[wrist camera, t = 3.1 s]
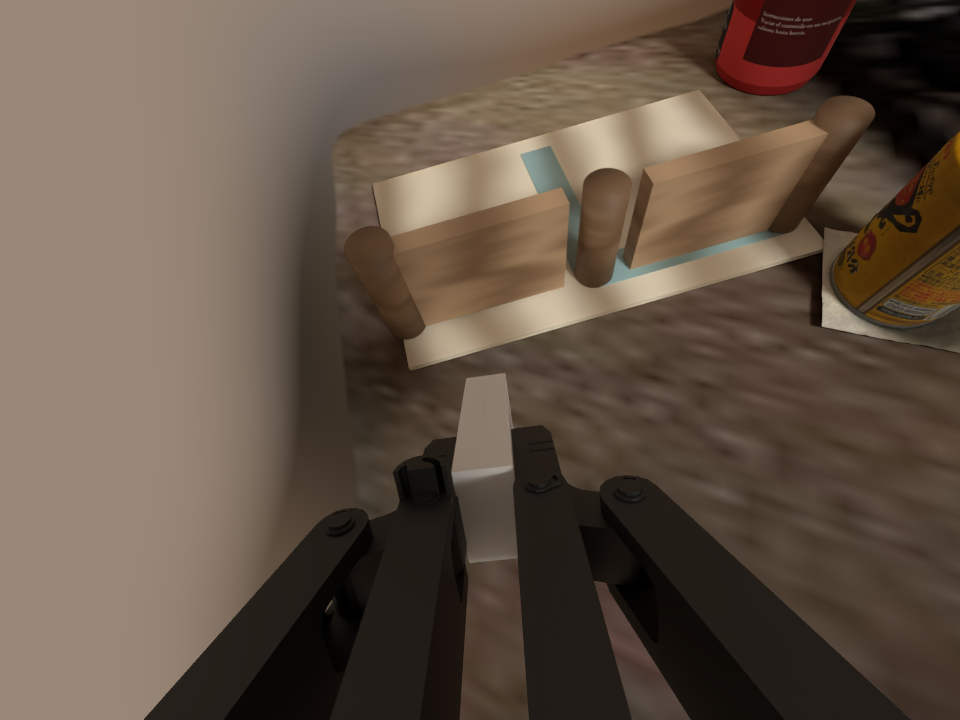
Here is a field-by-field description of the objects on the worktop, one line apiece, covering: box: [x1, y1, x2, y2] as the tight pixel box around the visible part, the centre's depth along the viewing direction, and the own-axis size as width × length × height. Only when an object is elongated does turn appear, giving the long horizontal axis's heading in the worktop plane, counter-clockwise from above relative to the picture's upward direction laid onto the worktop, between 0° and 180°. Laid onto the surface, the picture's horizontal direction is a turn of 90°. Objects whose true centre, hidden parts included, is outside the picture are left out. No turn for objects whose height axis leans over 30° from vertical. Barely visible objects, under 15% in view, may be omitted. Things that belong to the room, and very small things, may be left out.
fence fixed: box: [575, 96, 875, 288], centre depth 26 cm, size 15×2×8 cm, turn 104°
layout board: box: [373, 90, 824, 371], centre depth 32 cm, size 27×17×1 cm, turn 104°
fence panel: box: [344, 187, 570, 340], centre depth 25 cm, size 11×2×8 cm, turn 104°
